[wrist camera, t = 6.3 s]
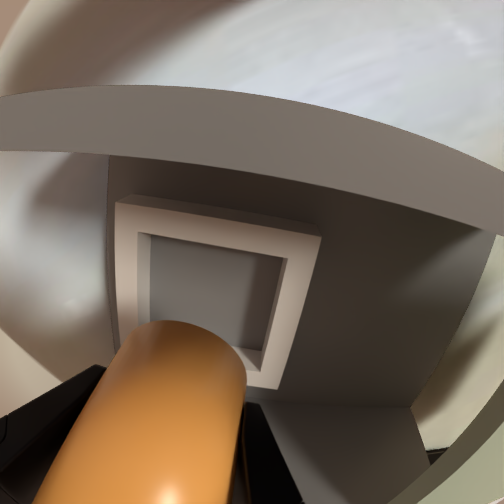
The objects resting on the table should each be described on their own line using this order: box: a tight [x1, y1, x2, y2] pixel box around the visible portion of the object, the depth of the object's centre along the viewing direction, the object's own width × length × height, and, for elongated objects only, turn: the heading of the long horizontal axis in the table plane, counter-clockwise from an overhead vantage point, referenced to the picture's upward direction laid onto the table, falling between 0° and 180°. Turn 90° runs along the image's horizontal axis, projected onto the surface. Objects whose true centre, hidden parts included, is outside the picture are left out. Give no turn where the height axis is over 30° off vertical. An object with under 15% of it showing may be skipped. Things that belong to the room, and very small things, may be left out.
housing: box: [0, 85, 504, 504], centre depth 11 cm, size 15×18×8 cm
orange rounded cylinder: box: [32, 320, 247, 504], centre depth 6 cm, size 4×4×6 cm
